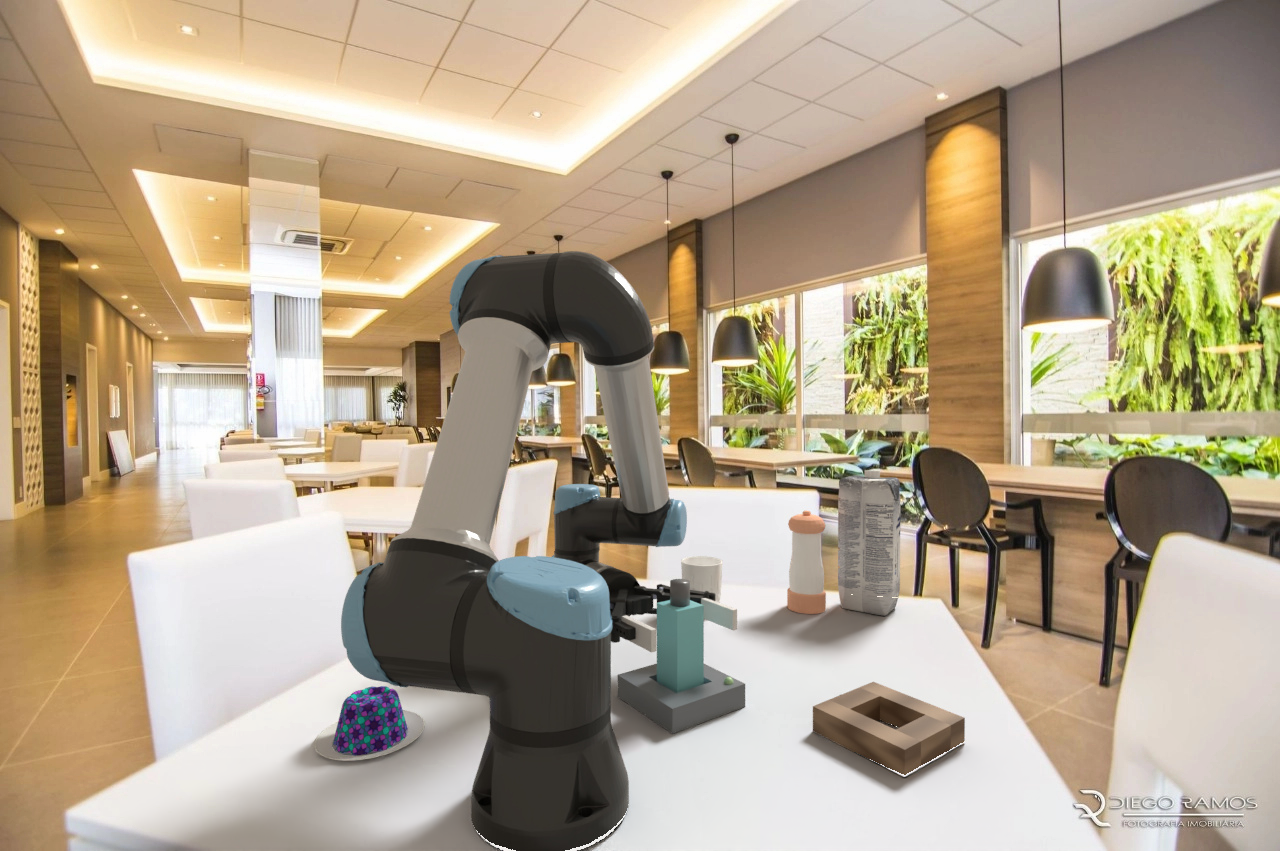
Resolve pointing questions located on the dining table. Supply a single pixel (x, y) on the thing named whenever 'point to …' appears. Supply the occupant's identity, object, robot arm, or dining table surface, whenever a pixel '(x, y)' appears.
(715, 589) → the white cup
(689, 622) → the plug
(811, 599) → the pepper shaker
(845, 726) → the holster
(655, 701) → the port
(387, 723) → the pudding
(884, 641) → the dining table surface
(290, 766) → the dining table surface
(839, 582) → the juice carton
